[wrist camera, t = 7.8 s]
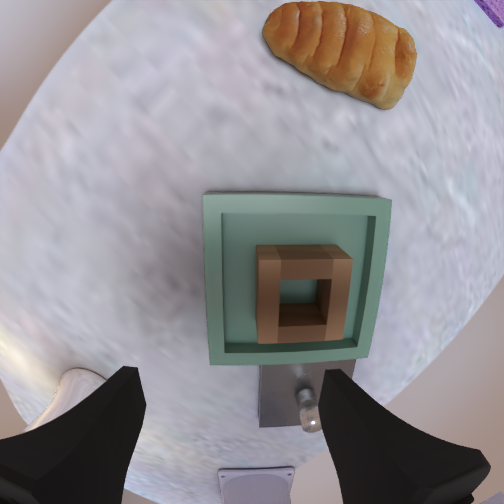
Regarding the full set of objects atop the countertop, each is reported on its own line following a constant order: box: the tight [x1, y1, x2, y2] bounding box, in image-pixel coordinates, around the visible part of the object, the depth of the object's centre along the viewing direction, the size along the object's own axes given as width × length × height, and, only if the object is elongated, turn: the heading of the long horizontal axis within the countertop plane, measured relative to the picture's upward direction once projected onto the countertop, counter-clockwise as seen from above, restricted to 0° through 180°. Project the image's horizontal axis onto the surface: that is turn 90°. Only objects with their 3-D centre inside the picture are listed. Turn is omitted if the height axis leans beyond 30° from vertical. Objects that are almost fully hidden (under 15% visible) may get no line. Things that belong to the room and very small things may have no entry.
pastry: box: [263, 1, 417, 110], centre depth 14 cm, size 9×7×4 cm
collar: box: [255, 245, 353, 344], centre depth 18 cm, size 5×5×3 cm
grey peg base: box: [259, 359, 356, 433], centre depth 21 cm, size 7×7×4 cm
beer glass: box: [20, 368, 106, 434], centre depth 15 cm, size 7×7×15 cm
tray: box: [203, 192, 392, 365], centre depth 19 cm, size 11×11×2 cm
